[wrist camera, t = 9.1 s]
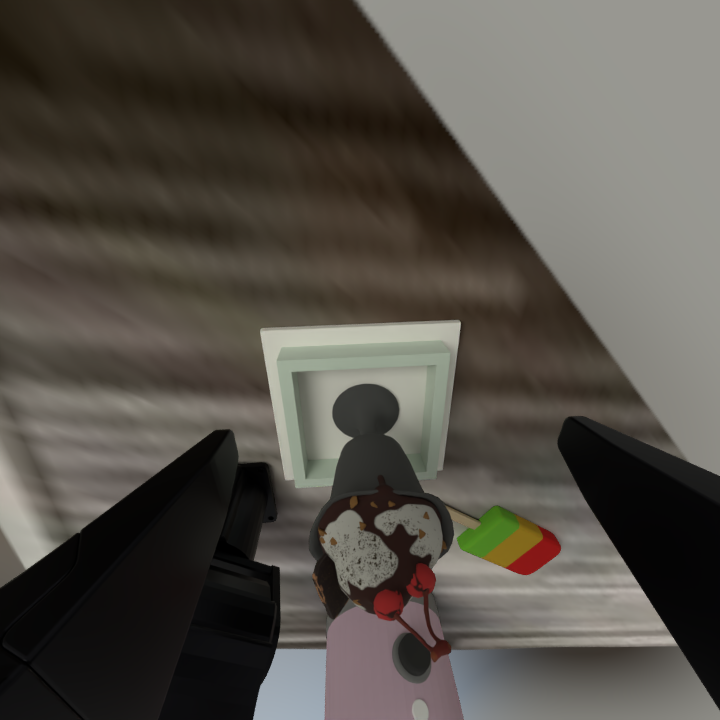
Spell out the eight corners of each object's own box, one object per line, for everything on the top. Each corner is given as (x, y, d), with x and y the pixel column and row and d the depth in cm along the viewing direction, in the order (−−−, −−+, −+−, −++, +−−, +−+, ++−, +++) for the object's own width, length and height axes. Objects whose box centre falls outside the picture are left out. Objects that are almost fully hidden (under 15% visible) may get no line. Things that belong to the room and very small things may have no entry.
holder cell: (440, 465, 27) (450, 489, 25) (286, 475, 27) (281, 500, 25) (458, 320, 22) (472, 333, 19) (261, 328, 21) (252, 343, 19)
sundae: (417, 374, 23) (531, 627, 9) (402, 448, 26) (472, 722, 12) (323, 368, 22) (297, 631, 9) (318, 445, 25) (294, 729, 12)
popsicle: (518, 562, 35) (527, 580, 33) (410, 514, 31) (414, 532, 29) (557, 532, 33) (568, 549, 32) (448, 477, 29) (455, 494, 27)
